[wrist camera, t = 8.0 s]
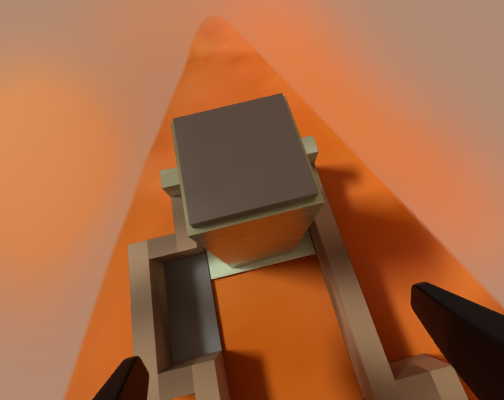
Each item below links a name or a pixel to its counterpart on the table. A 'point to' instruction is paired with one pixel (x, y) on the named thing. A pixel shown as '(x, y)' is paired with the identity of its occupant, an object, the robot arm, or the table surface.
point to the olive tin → (245, 180)
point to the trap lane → (206, 325)
